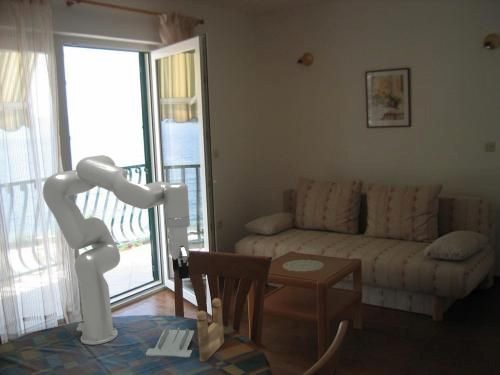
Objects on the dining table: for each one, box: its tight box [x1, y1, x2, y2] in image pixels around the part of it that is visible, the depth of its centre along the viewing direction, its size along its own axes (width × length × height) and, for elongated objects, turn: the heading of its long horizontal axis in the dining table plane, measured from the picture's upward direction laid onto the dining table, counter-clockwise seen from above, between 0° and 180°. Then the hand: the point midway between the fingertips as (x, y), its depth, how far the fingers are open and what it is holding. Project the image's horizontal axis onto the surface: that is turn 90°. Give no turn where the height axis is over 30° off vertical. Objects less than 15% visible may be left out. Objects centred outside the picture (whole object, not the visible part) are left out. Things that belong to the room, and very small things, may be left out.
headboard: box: [196, 297, 225, 363], centre depth 162 cm, size 3×14×16 cm, turn 159°
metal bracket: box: [145, 326, 195, 358], centre depth 167 cm, size 14×6×15 cm
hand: (181, 273), depth 163 cm, fingers open, 9 cm apart
